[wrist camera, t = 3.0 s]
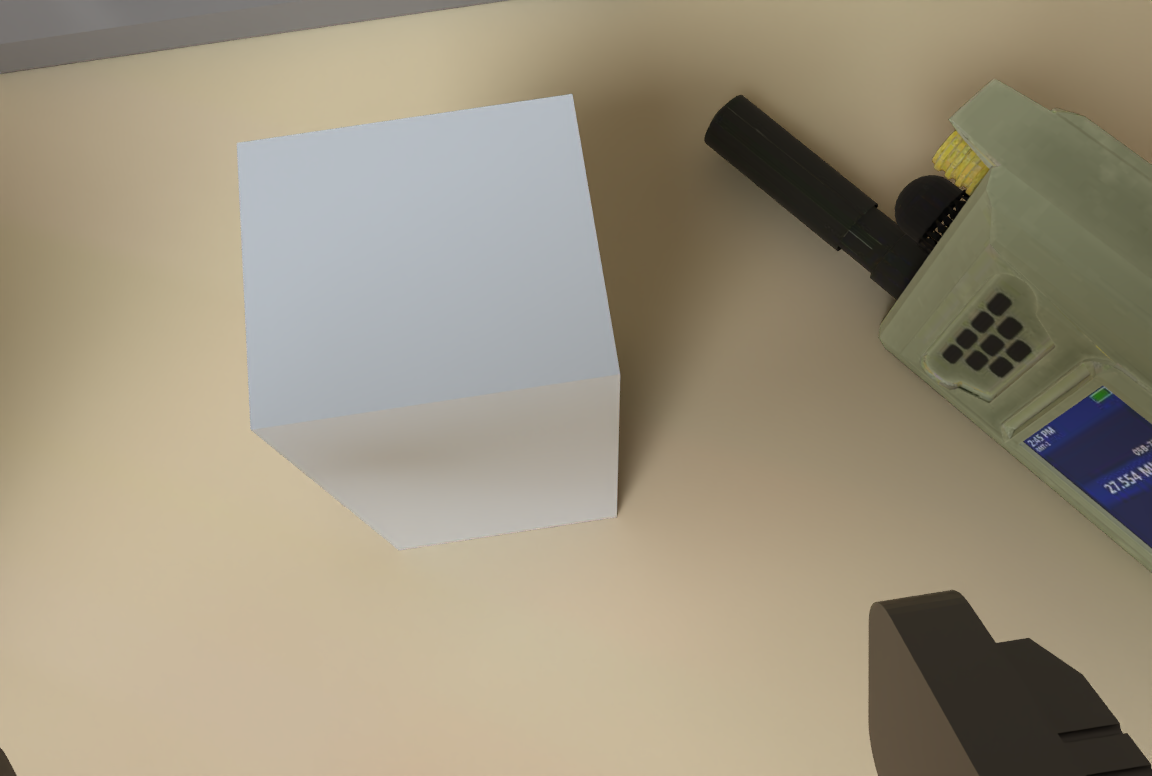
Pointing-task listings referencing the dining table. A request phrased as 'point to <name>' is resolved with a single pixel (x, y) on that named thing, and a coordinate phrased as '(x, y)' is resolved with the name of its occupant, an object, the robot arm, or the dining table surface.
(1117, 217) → the handheld radio
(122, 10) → the charging dock
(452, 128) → the block
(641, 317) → the dining table surface
